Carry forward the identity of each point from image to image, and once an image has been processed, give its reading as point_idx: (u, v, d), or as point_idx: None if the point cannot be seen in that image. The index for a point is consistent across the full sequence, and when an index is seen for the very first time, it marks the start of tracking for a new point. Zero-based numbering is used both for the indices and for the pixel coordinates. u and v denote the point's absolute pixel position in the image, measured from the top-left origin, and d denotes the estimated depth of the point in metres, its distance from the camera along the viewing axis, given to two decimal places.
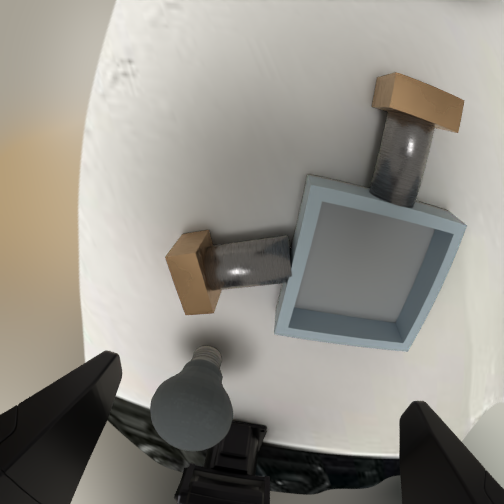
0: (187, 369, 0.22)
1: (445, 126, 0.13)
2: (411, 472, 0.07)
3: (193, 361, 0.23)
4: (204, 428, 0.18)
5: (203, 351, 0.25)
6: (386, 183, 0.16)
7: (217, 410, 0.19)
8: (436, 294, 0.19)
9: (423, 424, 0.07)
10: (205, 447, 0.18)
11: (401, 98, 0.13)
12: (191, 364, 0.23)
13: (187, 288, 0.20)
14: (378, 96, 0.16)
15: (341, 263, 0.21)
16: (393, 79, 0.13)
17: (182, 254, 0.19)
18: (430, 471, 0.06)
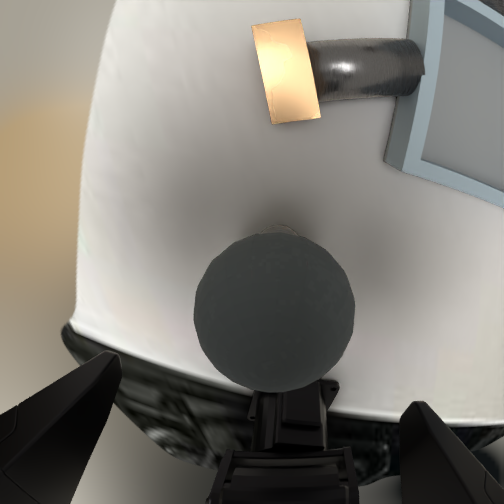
0: None
1: None
2: (411, 472, 0.07)
3: None
4: (325, 317, 0.09)
5: (275, 229, 0.16)
6: (495, 0, 0.08)
7: (342, 283, 0.10)
8: None
9: (423, 424, 0.07)
10: (316, 373, 0.10)
11: None
12: None
13: (281, 73, 0.11)
14: None
15: (459, 96, 0.13)
16: None
17: (278, 22, 0.10)
18: (430, 471, 0.06)
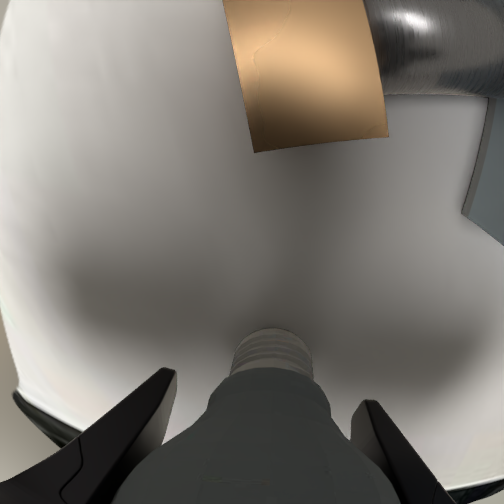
0: (233, 406, 0.06)
1: None
2: None
3: (247, 375, 0.07)
4: None
5: (267, 343, 0.09)
6: None
7: None
8: None
9: (371, 425, 0.07)
10: None
11: None
12: (242, 386, 0.07)
13: (281, 12, 0.03)
14: None
15: None
16: None
17: None
18: None
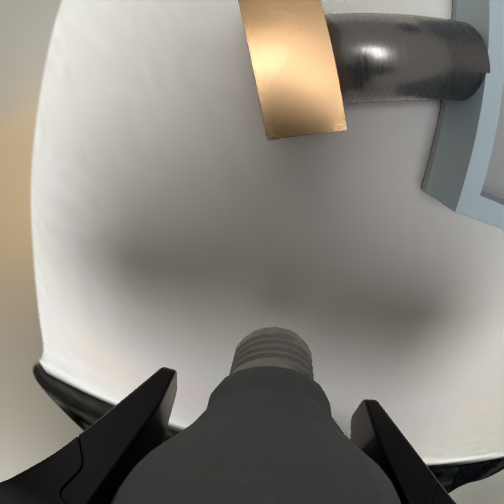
0: (233, 404, 0.06)
1: None
2: None
3: (247, 374, 0.07)
4: None
5: (268, 342, 0.09)
6: None
7: None
8: None
9: (371, 425, 0.07)
10: None
11: None
12: (242, 384, 0.07)
13: (283, 56, 0.06)
14: None
15: None
16: None
17: None
18: None
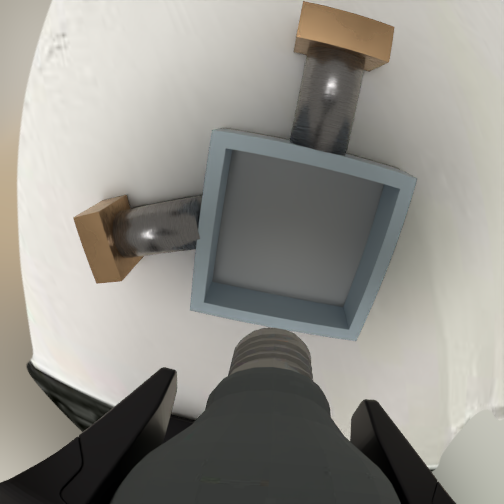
0: (231, 406, 0.06)
1: (370, 54, 0.11)
2: None
3: (245, 375, 0.07)
4: None
5: (266, 343, 0.09)
6: (303, 125, 0.14)
7: None
8: (384, 267, 0.16)
9: (371, 425, 0.07)
10: None
11: (310, 26, 0.11)
12: (240, 386, 0.07)
13: (94, 252, 0.17)
14: None
15: (267, 230, 0.19)
16: None
17: (87, 213, 0.16)
18: None
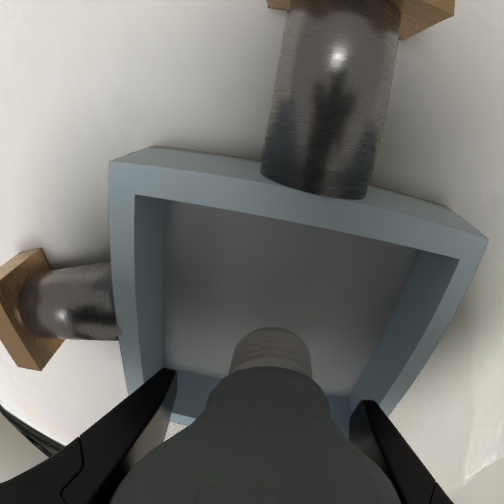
0: (231, 405, 0.06)
1: None
2: None
3: (245, 374, 0.07)
4: None
5: (266, 342, 0.09)
6: (283, 141, 0.07)
7: None
8: (415, 373, 0.09)
9: (369, 425, 0.07)
10: None
11: None
12: (240, 385, 0.07)
13: (4, 333, 0.10)
14: None
15: (233, 308, 0.12)
16: None
17: None
18: None
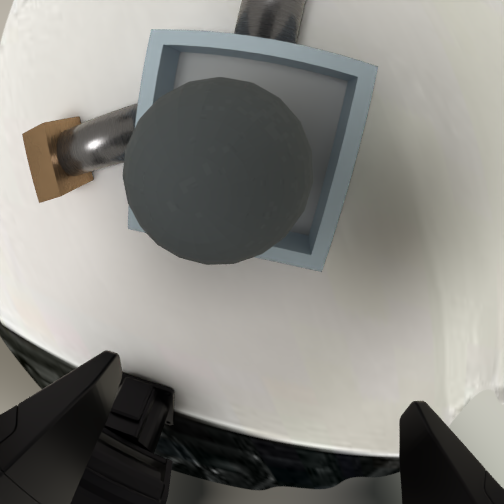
0: None
1: None
2: (411, 472, 0.07)
3: None
4: (263, 131, 0.07)
5: None
6: (244, 17, 0.11)
7: (291, 116, 0.08)
8: (349, 172, 0.14)
9: (423, 424, 0.07)
10: (256, 215, 0.08)
11: None
12: None
13: (38, 167, 0.14)
14: None
15: None
16: None
17: (34, 127, 0.13)
18: (430, 471, 0.06)
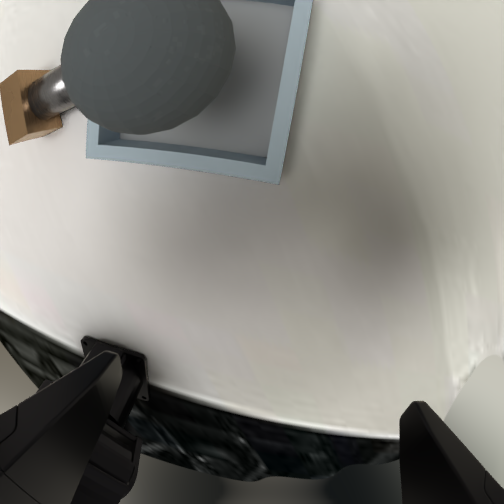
0: None
1: None
2: (411, 472, 0.07)
3: None
4: None
5: None
6: None
7: None
8: (296, 75, 0.12)
9: (423, 424, 0.07)
10: (159, 48, 0.06)
11: None
12: None
13: (10, 111, 0.13)
14: None
15: None
16: None
17: (10, 76, 0.12)
18: (430, 471, 0.06)
